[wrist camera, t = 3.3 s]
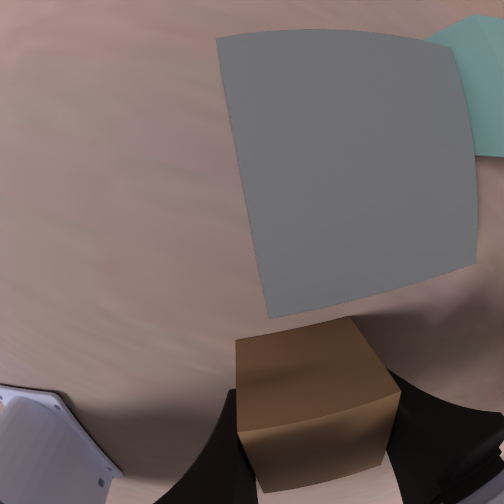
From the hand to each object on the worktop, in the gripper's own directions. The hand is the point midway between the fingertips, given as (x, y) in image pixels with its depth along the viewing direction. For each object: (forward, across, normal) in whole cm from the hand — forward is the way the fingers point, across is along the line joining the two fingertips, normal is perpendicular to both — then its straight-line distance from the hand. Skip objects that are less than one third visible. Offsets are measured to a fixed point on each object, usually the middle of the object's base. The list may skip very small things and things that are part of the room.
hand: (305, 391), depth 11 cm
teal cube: (+2, -10, -12) cm, 16 cm away
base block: (+1, -3, -9) cm, 10 cm away
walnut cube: (+1, 0, 0) cm, 1 cm away
